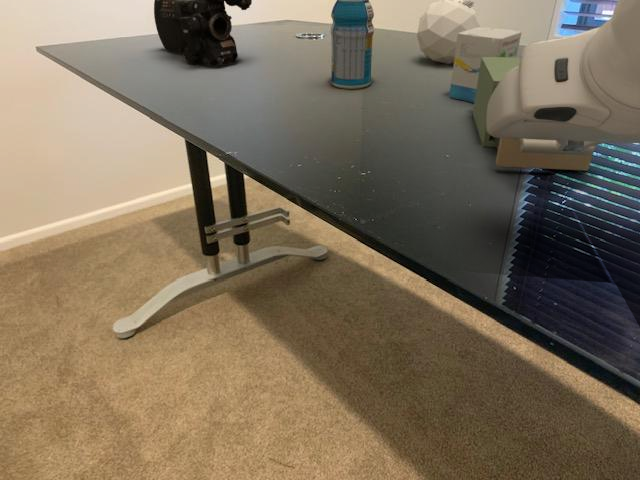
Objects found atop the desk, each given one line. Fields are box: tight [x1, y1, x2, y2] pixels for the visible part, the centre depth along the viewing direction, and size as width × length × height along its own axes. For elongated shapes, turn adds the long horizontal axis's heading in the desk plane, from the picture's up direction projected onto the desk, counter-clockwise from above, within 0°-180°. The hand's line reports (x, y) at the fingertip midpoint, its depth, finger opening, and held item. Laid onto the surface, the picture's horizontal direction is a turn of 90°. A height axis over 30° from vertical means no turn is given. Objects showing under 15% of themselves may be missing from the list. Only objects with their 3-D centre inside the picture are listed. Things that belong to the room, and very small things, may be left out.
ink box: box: [448, 26, 522, 104], centre depth 92 cm, size 8×8×12 cm
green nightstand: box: [472, 57, 521, 148], centre depth 77 cm, size 15×13×10 cm
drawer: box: [493, 137, 597, 172], centre depth 67 cm, size 18×11×8 cm, turn 171°
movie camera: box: [153, 0, 253, 67], centre depth 122 cm, size 31×18×18 cm, turn 43°
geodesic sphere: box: [416, 0, 481, 65], centre depth 115 cm, size 15×14×14 cm
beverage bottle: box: [330, 0, 375, 90], centre depth 98 cm, size 8×8×20 cm
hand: (569, 145), depth 56 cm, fingers closed
